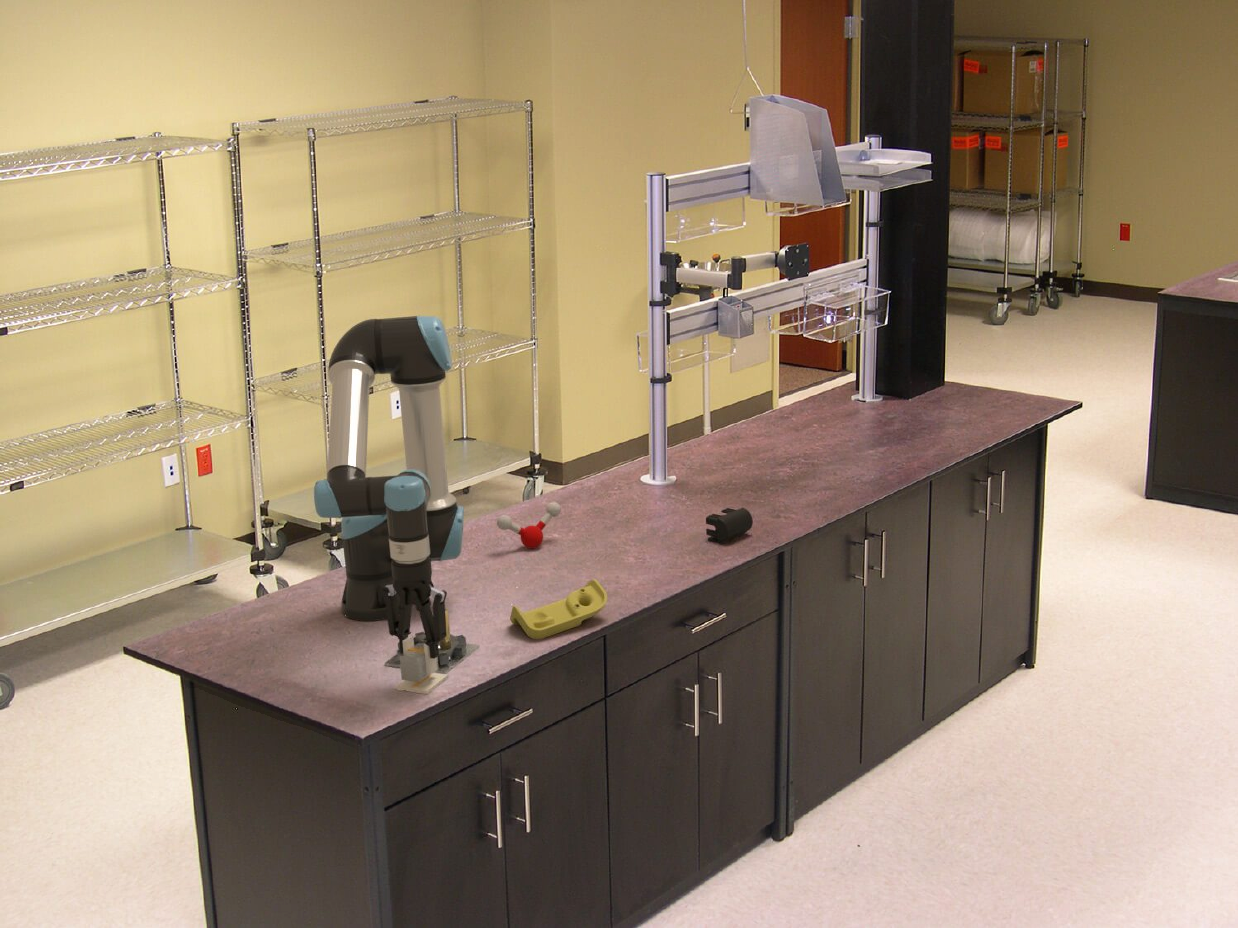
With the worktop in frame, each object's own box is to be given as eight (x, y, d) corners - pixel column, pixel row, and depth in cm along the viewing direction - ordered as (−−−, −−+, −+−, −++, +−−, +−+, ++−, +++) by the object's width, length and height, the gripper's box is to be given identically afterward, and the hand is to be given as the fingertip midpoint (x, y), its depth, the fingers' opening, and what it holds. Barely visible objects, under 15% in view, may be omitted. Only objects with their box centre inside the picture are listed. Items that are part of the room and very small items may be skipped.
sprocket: (434, 634, 310) (429, 589, 307) (480, 648, 301) (476, 603, 298) (383, 656, 300) (378, 610, 297) (430, 672, 291) (425, 625, 288)
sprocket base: (384, 665, 297) (384, 663, 297) (421, 639, 310) (421, 636, 309) (444, 674, 292) (444, 672, 292) (479, 647, 304) (479, 644, 304)
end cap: (728, 546, 355) (727, 520, 353) (705, 541, 360) (704, 515, 358) (753, 535, 362) (753, 509, 360) (731, 530, 367) (730, 504, 365)
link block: (401, 679, 285) (399, 654, 283) (420, 666, 291) (418, 642, 290) (419, 682, 283) (417, 657, 282) (438, 668, 289) (436, 644, 288)
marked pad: (396, 689, 286) (395, 685, 286) (418, 672, 293) (417, 669, 293) (427, 694, 283) (426, 690, 283) (448, 677, 290) (448, 674, 290)
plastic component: (533, 633, 304) (510, 600, 310) (530, 657, 309) (508, 624, 315) (615, 604, 313) (592, 573, 319) (611, 627, 318) (588, 597, 324)
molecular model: (553, 535, 369) (550, 497, 366) (567, 541, 365) (565, 502, 362) (496, 553, 358) (493, 514, 356) (510, 559, 354) (507, 520, 351)
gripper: (361, 559, 281) (373, 672, 288) (439, 568, 274) (449, 684, 280) (383, 547, 288) (394, 658, 294) (459, 555, 281) (469, 668, 287)
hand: (421, 670), depth 287 cm, fingers closed on link block, 4 cm apart
